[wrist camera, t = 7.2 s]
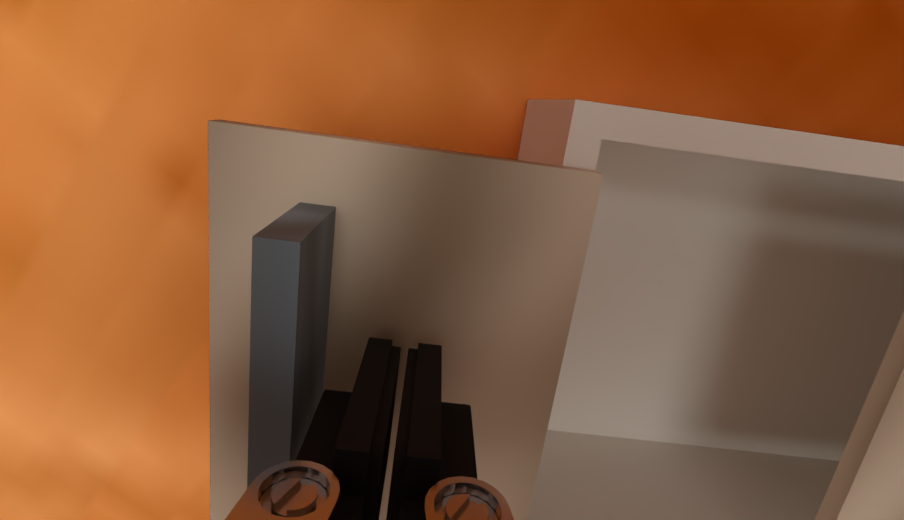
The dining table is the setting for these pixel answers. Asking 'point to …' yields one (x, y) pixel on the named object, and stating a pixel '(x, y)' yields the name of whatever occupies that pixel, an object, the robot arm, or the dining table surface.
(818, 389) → the carton
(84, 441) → the dining table surface
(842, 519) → the lid panel
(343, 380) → the lid panel
